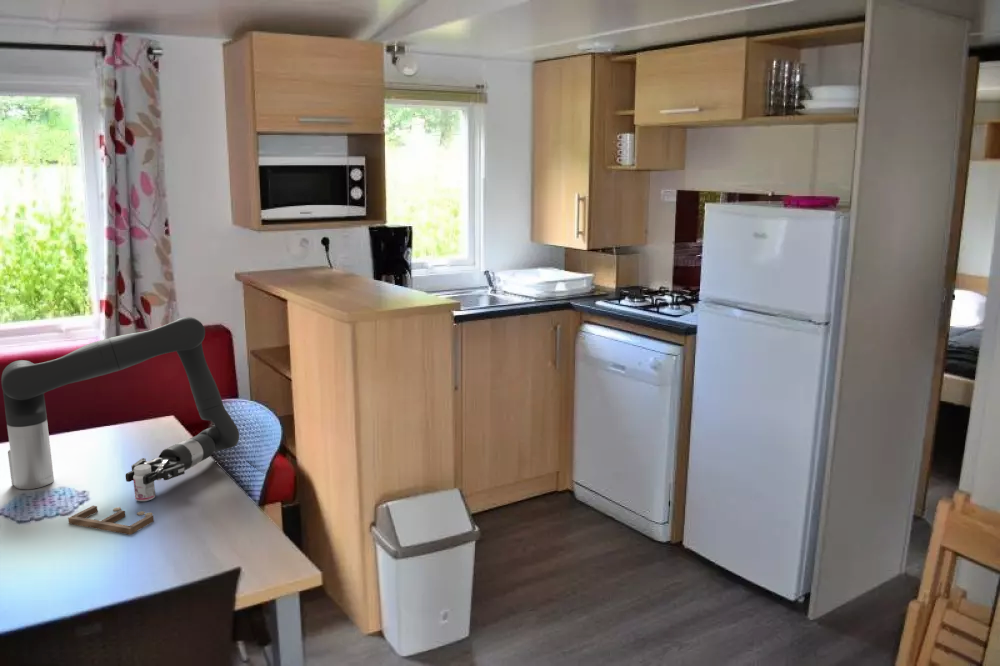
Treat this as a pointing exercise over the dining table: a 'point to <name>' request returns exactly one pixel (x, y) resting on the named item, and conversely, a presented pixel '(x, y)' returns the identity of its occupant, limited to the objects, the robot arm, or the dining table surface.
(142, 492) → the pill bottle
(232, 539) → the dining table surface
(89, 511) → the slot rack
